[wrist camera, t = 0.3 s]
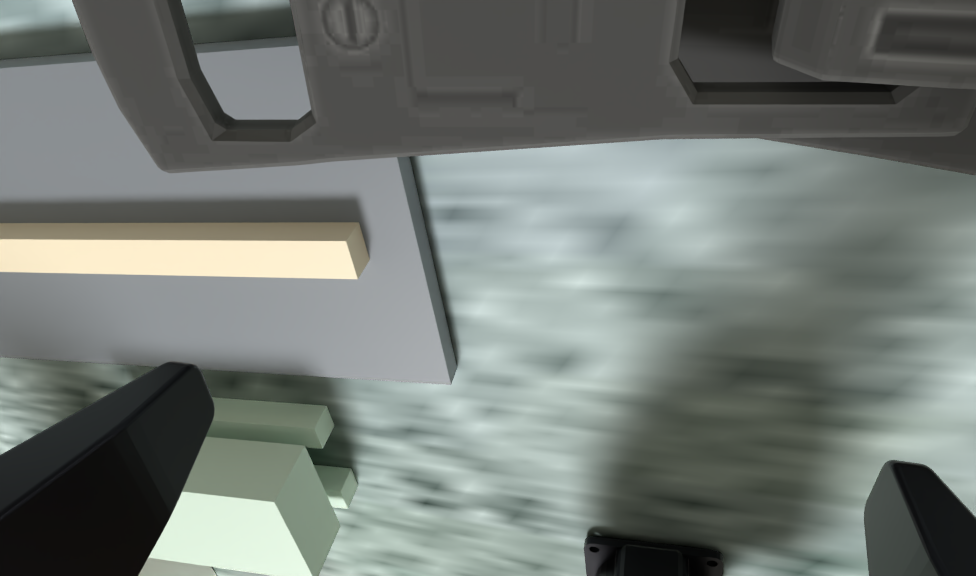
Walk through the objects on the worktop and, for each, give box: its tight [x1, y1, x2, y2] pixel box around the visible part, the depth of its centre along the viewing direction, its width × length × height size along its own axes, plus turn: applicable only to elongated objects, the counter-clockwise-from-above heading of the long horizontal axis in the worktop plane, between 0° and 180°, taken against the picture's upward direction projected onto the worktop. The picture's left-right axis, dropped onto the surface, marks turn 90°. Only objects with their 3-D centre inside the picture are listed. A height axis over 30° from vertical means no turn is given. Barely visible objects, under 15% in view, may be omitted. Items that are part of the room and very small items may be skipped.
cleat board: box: [0, 36, 457, 385], centre depth 27 cm, size 14×24×2 cm, turn 98°
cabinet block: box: [148, 397, 358, 576], centre depth 34 cm, size 6×11×6 cm, turn 98°
